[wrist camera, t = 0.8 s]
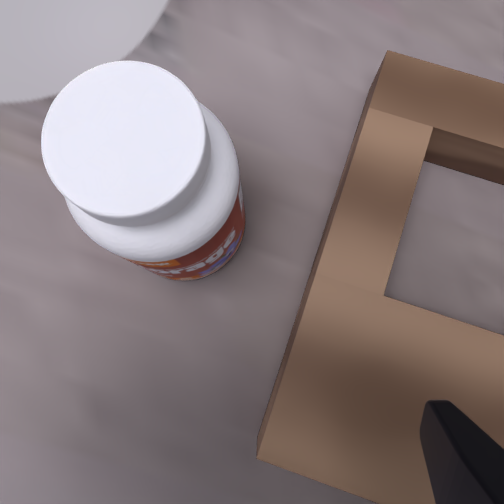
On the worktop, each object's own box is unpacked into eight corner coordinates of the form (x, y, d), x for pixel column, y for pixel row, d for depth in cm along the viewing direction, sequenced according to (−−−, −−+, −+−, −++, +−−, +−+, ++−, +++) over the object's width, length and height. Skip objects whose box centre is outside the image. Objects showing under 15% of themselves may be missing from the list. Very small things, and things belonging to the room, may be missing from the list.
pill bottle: (144, 296, 23) (34, 273, 12) (116, 184, 24) (-9, 68, 13) (260, 262, 23) (259, 209, 12) (228, 153, 24) (199, 10, 13)
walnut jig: (545, 541, 21) (602, 586, 17) (257, 436, 22) (256, 458, 18) (629, 166, 23) (693, 139, 20) (369, 88, 24) (387, 50, 21)
